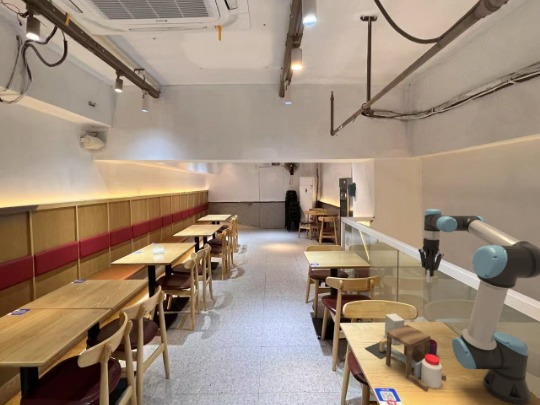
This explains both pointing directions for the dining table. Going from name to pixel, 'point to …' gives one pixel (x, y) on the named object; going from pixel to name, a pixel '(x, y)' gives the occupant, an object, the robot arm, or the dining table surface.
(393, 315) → the small box
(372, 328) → the dining table surface
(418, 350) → the tunnel
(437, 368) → the pill bottle
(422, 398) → the dining table surface
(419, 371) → the plunger
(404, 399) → the dining table surface
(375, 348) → the mat
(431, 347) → the mug
